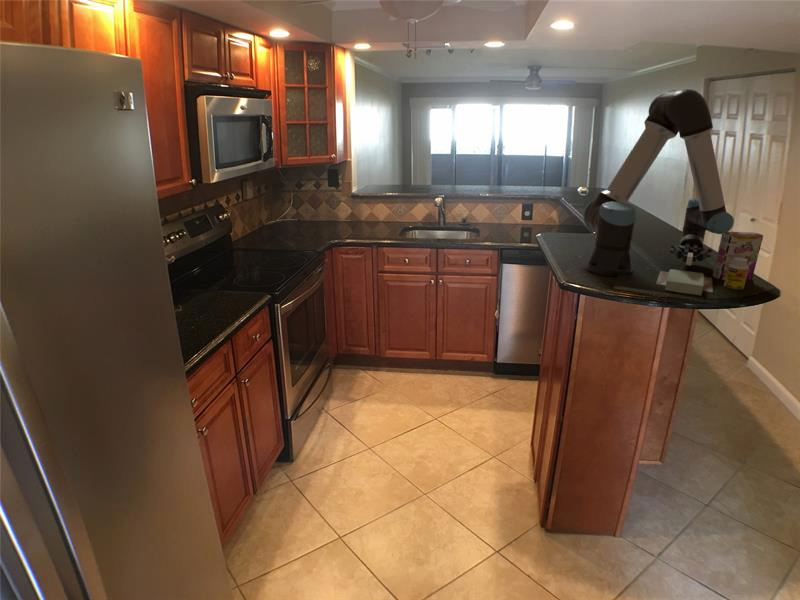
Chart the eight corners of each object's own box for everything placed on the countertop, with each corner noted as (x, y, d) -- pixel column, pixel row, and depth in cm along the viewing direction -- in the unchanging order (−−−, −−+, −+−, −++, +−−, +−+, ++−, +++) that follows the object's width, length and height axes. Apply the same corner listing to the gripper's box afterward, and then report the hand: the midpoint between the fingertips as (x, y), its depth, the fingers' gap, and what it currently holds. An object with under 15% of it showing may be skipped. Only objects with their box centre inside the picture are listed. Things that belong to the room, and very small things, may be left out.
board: (655, 286, 174) (655, 283, 173) (659, 273, 189) (660, 270, 188) (711, 295, 166) (712, 292, 166) (711, 280, 182) (712, 277, 181)
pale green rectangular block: (668, 277, 181) (664, 290, 167) (669, 269, 180) (666, 280, 166) (701, 282, 176) (701, 295, 163) (703, 273, 175) (703, 285, 162)
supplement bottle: (721, 290, 172) (728, 258, 169) (725, 286, 176) (731, 255, 173) (741, 293, 168) (748, 262, 165) (744, 289, 172) (752, 258, 169)
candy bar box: (720, 282, 180) (730, 234, 174) (711, 278, 184) (721, 231, 179) (752, 283, 180) (764, 234, 175) (743, 278, 185) (754, 231, 179)
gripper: (709, 259, 190) (710, 275, 170) (669, 254, 196) (664, 269, 176) (714, 238, 188) (715, 252, 168) (672, 234, 193) (668, 246, 174)
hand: (689, 261), depth 172 cm, fingers closed
